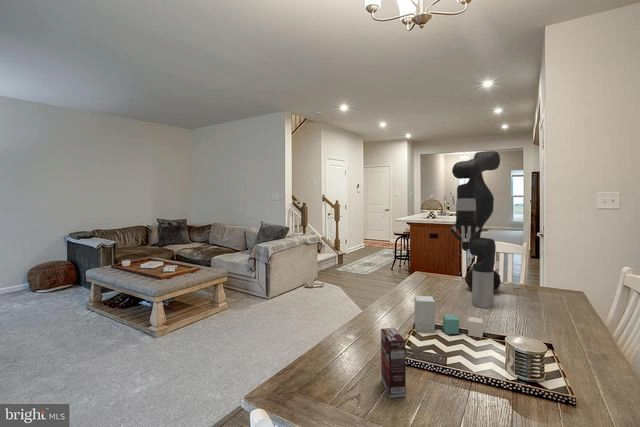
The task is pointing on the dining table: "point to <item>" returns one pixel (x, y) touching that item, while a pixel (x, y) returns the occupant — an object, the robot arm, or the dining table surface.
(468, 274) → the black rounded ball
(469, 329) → the cream block
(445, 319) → the teal block
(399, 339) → the supplement box
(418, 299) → the supplement box
